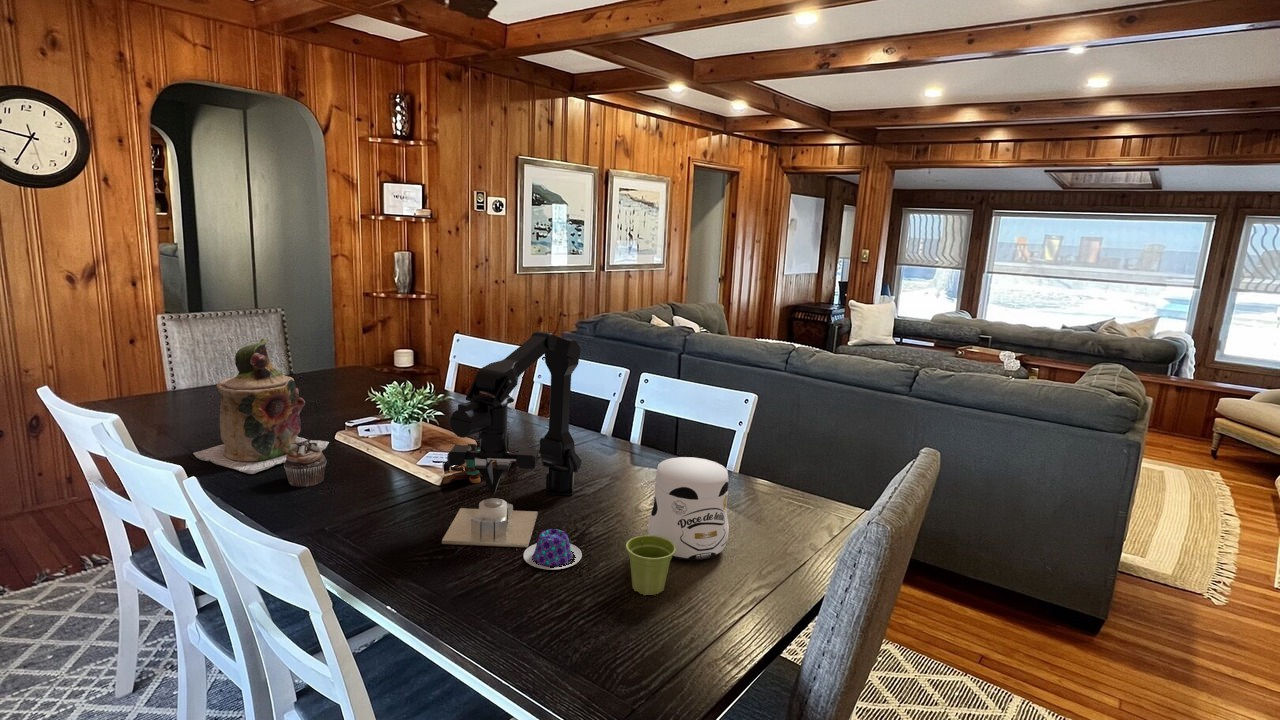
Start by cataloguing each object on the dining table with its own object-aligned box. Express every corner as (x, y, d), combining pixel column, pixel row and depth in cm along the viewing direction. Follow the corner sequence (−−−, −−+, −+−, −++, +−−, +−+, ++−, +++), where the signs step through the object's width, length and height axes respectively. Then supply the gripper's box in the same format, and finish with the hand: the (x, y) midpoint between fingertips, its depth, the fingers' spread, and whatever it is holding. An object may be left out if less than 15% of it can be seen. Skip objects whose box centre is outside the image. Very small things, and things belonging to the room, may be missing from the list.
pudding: (541, 539, 145) (542, 517, 144) (591, 551, 141) (592, 529, 140) (512, 564, 134) (512, 540, 133) (565, 578, 130) (566, 553, 129)
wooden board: (537, 514, 156) (537, 498, 156) (527, 547, 141) (528, 529, 140) (460, 511, 156) (460, 495, 155) (441, 543, 140) (441, 526, 139)
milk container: (704, 576, 133) (711, 492, 130) (631, 550, 142) (636, 471, 138) (739, 544, 148) (746, 467, 144) (671, 522, 156) (676, 449, 153)
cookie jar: (188, 459, 178) (179, 341, 171) (270, 434, 200) (264, 329, 194) (255, 476, 169) (247, 353, 162) (332, 449, 191) (328, 339, 185)
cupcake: (276, 482, 166) (273, 444, 164) (310, 470, 175) (309, 434, 172) (301, 491, 162) (299, 452, 160) (335, 479, 170) (334, 441, 168)
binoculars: (456, 434, 180) (491, 435, 178) (460, 472, 182) (494, 473, 180) (440, 445, 171) (476, 445, 169) (444, 484, 173) (480, 485, 171)
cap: (508, 519, 151) (509, 497, 150) (503, 531, 145) (504, 508, 144) (482, 518, 151) (482, 495, 150) (476, 530, 145) (476, 506, 144)
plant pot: (622, 574, 132) (624, 534, 130) (669, 575, 133) (672, 535, 131) (625, 601, 123) (627, 558, 121) (675, 601, 124) (678, 558, 122)
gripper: (541, 416, 152) (540, 481, 155) (459, 413, 151) (459, 477, 154) (535, 432, 141) (533, 501, 144) (446, 428, 140) (446, 497, 143)
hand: (493, 493), depth 147 cm, fingers closed
